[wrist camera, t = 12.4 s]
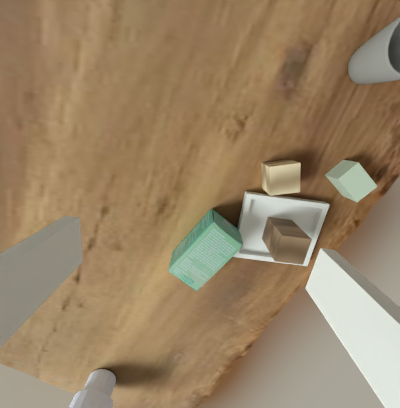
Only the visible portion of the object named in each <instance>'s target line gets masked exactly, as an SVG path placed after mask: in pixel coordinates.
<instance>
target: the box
mask: <svg viewBox="0 0 400 408" xmlns="http://www.w3.org/2000/svg"><path fill="white" fill-rule="evenodd" d="M242 246H243V241H242V237H241V233H240V232H239V230H238V229H237V228H236V227H235V226H234V225H232V224H231V223H230V222H229V221H227V220H226V219H225V218H223V217H222V216H221V215H220V214H218V213H217V212H216V211H215V210H213V209H211V210H209V212H208V213H207V214H206V215H205V216H204V217H203V218H202V219H201V221H200V222H199V223H198V224H197V225H196V226H195V227H194V228H193V230H192V231H191V232H190V233H189V234H188V235H187V236H186V237H185V238H184V240H183V241H182V242H181V243H180V244H179V245H178V247H177V248H176V249H175V250H174V251H173V253H172V258H171V262H170V266H169V269H168V271H169V272H170V273H172V274H173V275H174V276H176V277H177V278H179V279H180V280H181V281H183V282H184V283H186V284H187V285H189V286H190V287H191V288H193V289H194V290H196V291H198V289H200V288H201V287H202V286H203V285H204V284H205V283H206V282H207V281H208V280H209V279H210V278H211V277H212V276H213V275H214V274H215V273H216V272H217V271H218V270H219V269H220V268H222V267H223V266H224V265H225V264H226V263H227V262H228V261H229V260H230V259H231V258H232V257H233V256H234V255H235V254H236V253H237V252H238V251H239V250H240V249H241V248H242Z"/></svg>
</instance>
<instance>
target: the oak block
mask: <svg viewBox="0 0 400 408" xmlns="http://www.w3.org/2000/svg"><path fill="white" fill-rule="evenodd" d="M300 169H301V163H300V162H296V161H293V160H289V159H287V160H280V161H273V162H265V163H262V188H263V189H264V190H265V191H266V192H267V193H268V194H269V195H270V196H273V195H281V194H289V193H297V192H300Z"/></svg>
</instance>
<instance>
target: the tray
mask: <svg viewBox="0 0 400 408" xmlns="http://www.w3.org/2000/svg"><path fill="white" fill-rule="evenodd" d="M329 205H330V204H328V203H326V202H324V201H316V200H309V199H301V198H294V197H286V196H279V195H273V196H270V195H269V194H264V193H256V192H249V191H245V194H244V199H243V204H242V208H241V213H240V218H239V222H238V227H237V229H238V230H239V232H240V233H241V237H242V241H243V246H242V248H241V249H240V250H239V251H238V252H237V253H236V254H235V255H234V256H233V257H238V258H246V259H254V260H262V261H270V262H277V261H274V259H273V257H272V256H271V254H270V252H269V250H268V249H267V247H266V245H265V243H264V242H263V240H262V236H263V232H264V228H265V225H266V221H267V217H273V218H281V219H288V220H292V221H293V222H294V223H295V224H297V225H298V226H299V227H300V228H301V229H302V230H303V231H304V232H305V233H306V234H307V235H308V236H309V237H310V238H311V239H312V241H311V244H310V246H309V249H308V252H307V255H306V258H305V261H304V263H303V266H308V263H309V260H310V257H311V255H312V252H313V249H314V246H315V244H316V241H317V238H318V236H319V233H320V230H321V227H322V225H323V222H324V219H325V216H326V214H327V211H328V208H329ZM278 263H285V262H278ZM287 264H293V263H287ZM295 265H301V264H295Z"/></svg>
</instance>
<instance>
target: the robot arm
mask: <svg viewBox="0 0 400 408" xmlns="http://www.w3.org/2000/svg"><path fill="white" fill-rule="evenodd" d="M82 262H83V259H82V244H81V229H80V218H79V217H71V216H64V217H62V218H60V219H59V220H57V221H55V222H54V223H52V224H50V225H48V226H47V227H45V228H43V229H42V230H40V231H38V232H36V233H35V234H33V235H31V236H30V237H28V238H26V239H24V240H23V241H21V242H19V243H18V244H16V245H14V246H13V247H11V248H9V249H7V250H6V251H4V252H2V253H1V254H0V348H1V347H2V346H3V345H4V344H5V342H6V341H7V340H8V339H9V338H10V337H11V336H12V335H13V334H14V333H15V332H16V331H17V330H18V329H19V328H20V327H21V326H22V325H23V324H24V323H25V321H26V320H27V319H28V318H29V317H30V316H31V315H32V314H33V313H34V312H35V311H36V310H37V309H38V308H39V307H40V306H41V305H42V304H43V303H44V302H45V300H46V299H47V298H48V297H49V296H50V295H51V294H52V293H53V292H54V291H55V290H56V289H57V288H58V287H59V286H60V285H61V284H62V283H63V282H64V281H65V279H66V278H67V277H68V276H69V275H70V274H71V273H72V272H73V271H74V270H75V269H76V268H77V267H78V266H79V265H80V264H81V263H82ZM306 290H307V291H308V293H309V294H310V296H311V297H312V299H313V300H314V302H315V303H316V305H317V306H318V308H319V309H320V311H321V312H322V314H323V315H324V317H325V318H326V320H327V321H328V323H329V324H330V326H331V327H332V329H333V330H334V332H335V333H336V335H337V336H338V338H339V339H340V341H341V342H342V344H343V345H344V347H345V348H346V350H347V351H348V353H349V354H350V356H351V357H352V359H353V360H354V362H355V363H356V365H357V366H358V368H359V369H360V371H361V372H362V374H363V375H364V377H365V378H366V380H367V381H368V383H369V384H370V386H371V387H372V389H373V390H374V392H375V393H376V395H377V396H378V398H379V399H380V401H381V402H382V404H383V405H384V407H385V408H400V307H399V306H398V305H396V304H395V303H394V302H393V301H392V300H391V299H390V298H388V297H387V296H386V295H385V294H384V293H383V292H382V291H380V290H379V289H378V288H377V287H376V286H375V285H374V284H372V283H371V282H370V281H369V280H368V279H367V278H366V277H364V276H363V275H362V274H361V273H360V272H359V271H358V270H356V269H355V268H354V267H353V266H352V265H351V264H350V263H349V262H347V261H346V260H345V259H344V258H343V257H342V256H341V255H339V254H338V253H337V252H336V251H335V250H331V249H323V248H320V251H319V254H318V256H317V259H316V262H315V264H314V267H313V270H312V272H311V275H310V278H309V280H308V283H307V286H306Z"/></svg>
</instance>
